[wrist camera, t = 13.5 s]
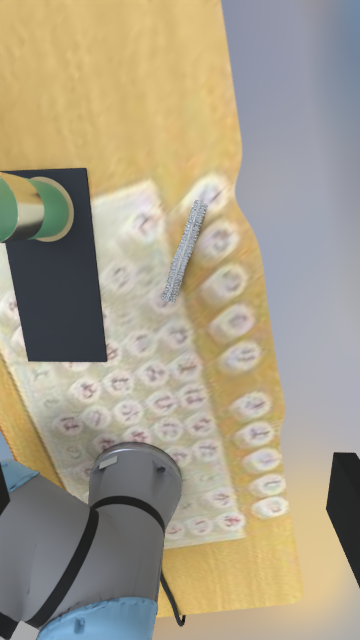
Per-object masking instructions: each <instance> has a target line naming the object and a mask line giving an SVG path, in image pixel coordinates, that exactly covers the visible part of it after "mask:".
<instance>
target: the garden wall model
mask: <svg viewBox="0 0 360 640" xmlns="http://www.w3.org/2000/svg"><path fill="white" fill-rule="evenodd" d="M194 202H195V203H194V204H193V207H192V210H191V213H190V216H189V220H188V223H187V225H186V228H185V231H184V234H183V238H182V240H181V243H180V244H179V246H178V249H177V252H176V253H175V256H174V259H173V262H172V265H171V267H170V268H171V269H170V273H169V278H168V281H167V286H166V289H165V291H164V294H163V297H162V299H163V300H165V301H166V302H172V303H175V301H173V300H176V298H174V297H177V296H176V295H175V294H178V293H176V291H178V292H179V290H177V288H179V289H180V287H178V285H179V286H181V285H180V284H179V283H182V282H180V281H182V278H183V275H184V272H185V269H186V266H187V263H188V260H189V257H191V255H190V254H191V253H192V252H191V251H192V250H193V247H194V245H193V243H194V244H195V242H194V240H197V239H195V237H196V238H197V237H198V236H196V234H199V233H198V232H197V231H200V230H199V229H200V227H199V226H201V224H200V223H202V221H201V220H202V219H204V218H202V217H203V216H205V215H204V213H206V212H204V211H205V210H207V209H206V207H208V205H206V204H205V203H203V202H201V201H197V200H195V201H194ZM205 206H206V207H205Z"/></svg>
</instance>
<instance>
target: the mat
mask: <svg viewBox="0 0 360 640" xmlns="http://www.w3.org/2000/svg"><path fill="white" fill-rule="evenodd" d="M0 172H2V173H7V174H11V175H16V176H19V177H23V178H27V179H31V180H36V181H40V182H45V183H48V184H50V185H52V186H54V187H56V188H57V189H58V190H59V191H60V192H61V193H62V195H63V196H64V198H65V200H66V202H67V205H68V211H69V216H68V221H67V224H66V226H65V228H64V229H63V230H62V231H61V232H60V233H59V234H57V235H55V236H51V237H44V238H36V239H28V240H23V241H15V242H7V243H5V244H6V249H7V254H8V260H9V265H10V270H11V275H12V280H13V285H14V290H15V296H16V301H17V306H18V311H19V316H20V321H21V326H22V331H23V337H24V342H25V347H26V352H27V357H28V361H44V362H107V355H106V346H105V337H104V327H103V318H102V309H101V300H100V290H99V281H98V272H97V262H96V253H95V244H94V235H93V225H92V216H91V207H90V198H89V188H88V179H87V170H86V168H71V169H45V170H20V171H0Z"/></svg>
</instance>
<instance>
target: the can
mask: <svg viewBox="0 0 360 640" xmlns="http://www.w3.org/2000/svg"><path fill="white" fill-rule="evenodd" d="M68 216H69V211H68V205H67V202H66V200H65V198H64V196H63V195H62V193H61V192H60V191H59V190H58V189H57V188H56V187H54V186H52V185H50V184H48V183H45V182H40V181H36V180H31V179H27V178H23V177H19V176H16V175H11V174H7V173H2V172H0V243H7V242H15V241H23V240H28V239H36V238H44V237H51V236H55V235H57V234H59V233H60V232H61V231H62V230H63V229H64V228H65V226H66V224H67V221H68Z"/></svg>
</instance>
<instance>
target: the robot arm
mask: <svg viewBox="0 0 360 640" xmlns="http://www.w3.org/2000/svg"><path fill="white" fill-rule="evenodd" d="M181 487H182V478H181V474H180V471H179V469H178V467H177V465H176V463H175V462H174V461H173V460H172V459H171V458H170V457H169V456H168V455H167V454H166V453H164V452H163V451H161V450H160V449H158V448H156V447H153V446H150V445H147V444H143V443H122V444H118V445H115V446H112V447H110V448H109V449H107V450H105V451H104V452H103V453H102V454H101V455H100V456H99V457H98V459H97V460H96V462H95V464H94V467H93V469H92V471H91V474H90V479H89V498H88V505H87V504H86V503H84V502H83V501H81V500H79V499H78V498H76V497H75V496H73V495H72V494H70V493H68V492H67V491H65V490H64V489H62V488H61V487H59V486H57V485H56V484H54V483H53V482H51V481H49V480H48V479H46V478H45V477H43V476H42V475H40V472H39V471H33V470H32V469H30V468H28V467H26V466H24V465H23V464H21V463H19V462H17V461H15V460H11V459H10V460H9V459H7V460H2V461H0V640H9V639H10V638H11V636H12V634H13V632H14V631H15V629H16V627H17V625H18V623H19V622H20V621H21V620H22V621H24V622H25V623H27V624H29V625H31V626H33V627H35V628H37V629H38V630H39V631H40V632H39V633H38V636H37V638H36V640H152V634H153V629H154V624H155V619H156V615H157V612H158V604H157V602H158V593H159V584H160V581H161V584H162V586H163V588H164V590H165V592H166V594H167V596H168V599H169V601H170V603H171V605H172V608H173V611H174V615H175V618H176V620H177V623H178V625H179V626H183V625H184V623H185V618H186V615H182V620H180V617H179V614H178V611H177V608H176V605H175V602H174V600H173V597H172V595H171V593H170V591H169V589H168V587H167V585H166V583H165V580H164V578H163V575H162V571H161V566H162V556H163V547H164V538H165V530H166V528H167V525H168V523H169V521H170V519H171V517H172V515H173V513H174V511H175V509H176V507H177V505H178V502H179V500H180V496H181ZM326 510H327V513H328V515H329V517H330V520H331V522H332V524H333V527H334V529H335V531H336V534H337V536H338V538H339V541H340V543H341V545H342V548H343V550H344V552H345V555H346V557H347V559H348V562H349V564H350V566H351V569H352V571H353V573H354V576H355V578H356V580H357V583H358V585H359V587H360V459H359V458H358V456H357V455H356V453H339V452H338V453H337V452H334V455H333V462H332V469H331V476H330V484H329V491H328V498H327V506H326Z"/></svg>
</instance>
